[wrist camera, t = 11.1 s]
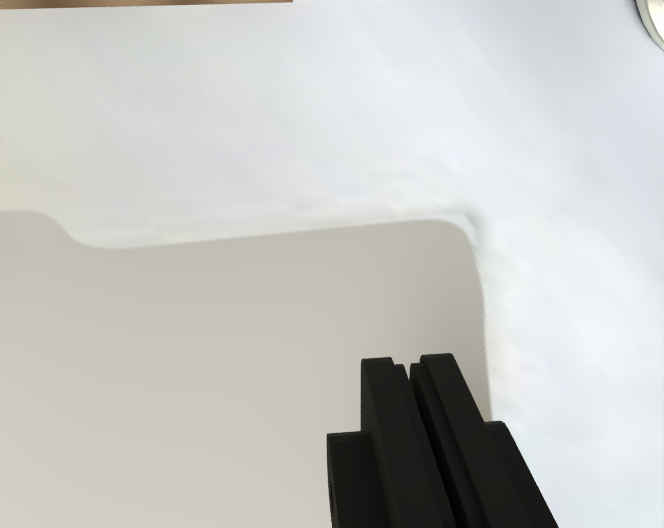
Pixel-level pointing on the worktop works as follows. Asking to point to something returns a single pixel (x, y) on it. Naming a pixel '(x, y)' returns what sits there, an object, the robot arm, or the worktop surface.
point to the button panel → (116, 3)
